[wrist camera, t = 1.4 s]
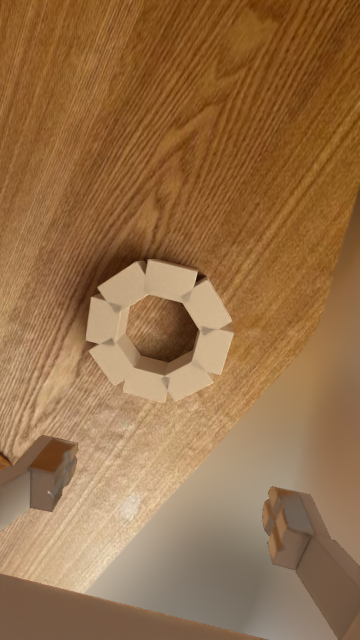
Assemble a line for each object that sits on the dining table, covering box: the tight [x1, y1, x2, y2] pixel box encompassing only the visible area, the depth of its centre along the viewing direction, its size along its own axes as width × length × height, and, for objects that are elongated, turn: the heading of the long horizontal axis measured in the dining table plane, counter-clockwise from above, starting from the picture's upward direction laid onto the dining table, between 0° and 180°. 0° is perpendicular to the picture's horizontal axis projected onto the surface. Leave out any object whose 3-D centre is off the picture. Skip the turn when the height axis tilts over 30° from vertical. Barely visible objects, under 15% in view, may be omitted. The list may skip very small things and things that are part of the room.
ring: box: [85, 259, 234, 403], centre depth 24 cm, size 13×13×3 cm
